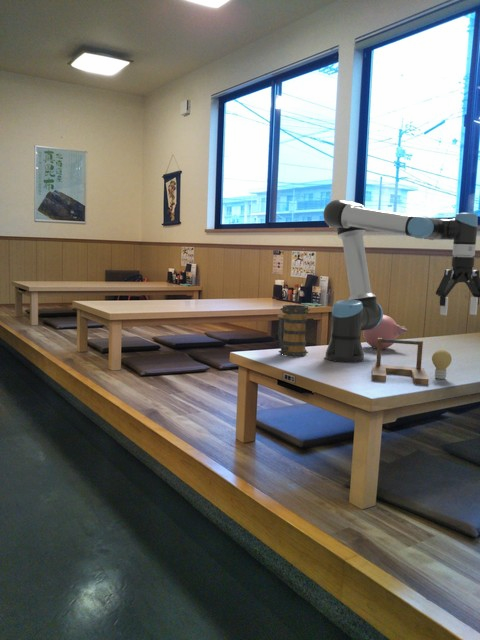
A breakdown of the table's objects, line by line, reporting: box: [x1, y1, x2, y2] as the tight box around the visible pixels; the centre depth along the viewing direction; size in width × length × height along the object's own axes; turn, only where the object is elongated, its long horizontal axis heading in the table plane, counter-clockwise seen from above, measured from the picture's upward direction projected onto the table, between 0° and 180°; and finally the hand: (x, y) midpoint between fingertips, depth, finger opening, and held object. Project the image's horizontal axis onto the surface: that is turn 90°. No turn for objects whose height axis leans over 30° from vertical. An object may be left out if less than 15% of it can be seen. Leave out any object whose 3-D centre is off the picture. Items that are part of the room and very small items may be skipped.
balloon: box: [362, 314, 409, 350], centre depth 241 cm, size 15×20×15 cm
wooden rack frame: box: [371, 338, 430, 386], centre depth 188 cm, size 18×18×12 cm
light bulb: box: [431, 349, 453, 380], centre depth 187 cm, size 6×6×10 cm
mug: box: [276, 304, 311, 358], centre depth 221 cm, size 13×17×20 cm
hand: (458, 314), depth 198 cm, fingers open, 13 cm apart
